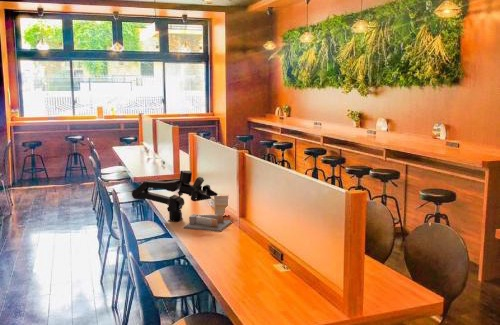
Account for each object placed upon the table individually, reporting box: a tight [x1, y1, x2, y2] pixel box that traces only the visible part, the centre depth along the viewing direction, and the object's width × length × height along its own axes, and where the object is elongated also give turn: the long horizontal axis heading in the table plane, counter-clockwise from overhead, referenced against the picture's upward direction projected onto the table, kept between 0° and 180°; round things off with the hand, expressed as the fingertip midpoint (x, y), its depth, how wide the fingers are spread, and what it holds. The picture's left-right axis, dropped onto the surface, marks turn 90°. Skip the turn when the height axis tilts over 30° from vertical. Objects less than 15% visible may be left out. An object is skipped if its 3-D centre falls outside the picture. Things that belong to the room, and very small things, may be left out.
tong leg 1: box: [196, 215, 217, 227], centre depth 276 cm, size 14×1×4 cm, turn 58°
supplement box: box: [213, 193, 229, 215], centre depth 297 cm, size 8×5×13 cm, turn 84°
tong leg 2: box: [198, 214, 225, 222], centre depth 282 cm, size 14×1×4 cm, turn 86°
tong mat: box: [183, 213, 233, 233], centre depth 279 cm, size 22×19×5 cm
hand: (214, 196), depth 280 cm, fingers open, 9 cm apart
